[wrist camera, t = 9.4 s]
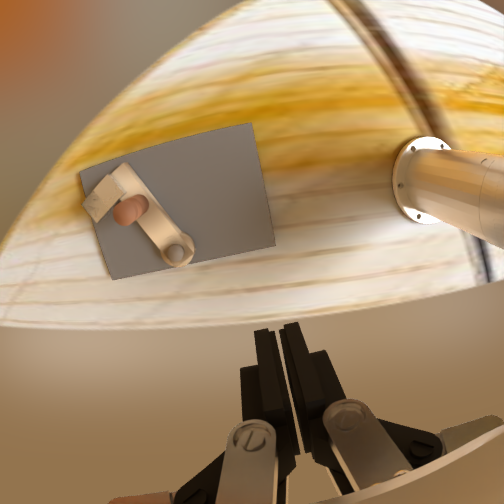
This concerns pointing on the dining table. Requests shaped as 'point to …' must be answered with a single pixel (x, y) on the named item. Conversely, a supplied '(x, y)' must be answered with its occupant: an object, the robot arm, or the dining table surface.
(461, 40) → the dining table surface
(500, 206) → the robot arm
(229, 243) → the base board
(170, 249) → the ash link
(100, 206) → the block
